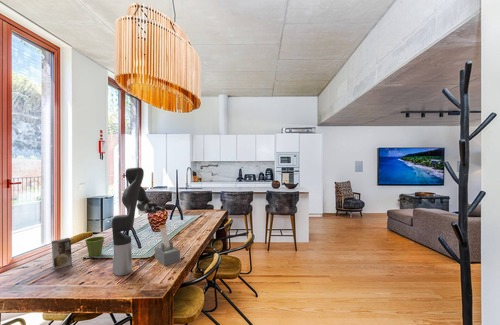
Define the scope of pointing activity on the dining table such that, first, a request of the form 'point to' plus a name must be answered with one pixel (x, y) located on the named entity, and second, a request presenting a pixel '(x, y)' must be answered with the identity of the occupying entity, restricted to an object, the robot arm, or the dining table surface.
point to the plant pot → (94, 245)
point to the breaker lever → (164, 236)
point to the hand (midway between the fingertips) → (159, 211)
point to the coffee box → (61, 253)
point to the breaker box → (167, 254)
